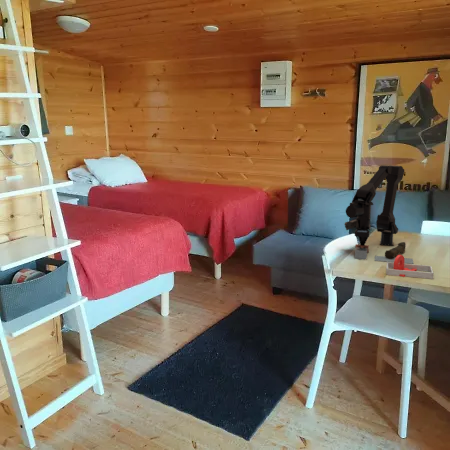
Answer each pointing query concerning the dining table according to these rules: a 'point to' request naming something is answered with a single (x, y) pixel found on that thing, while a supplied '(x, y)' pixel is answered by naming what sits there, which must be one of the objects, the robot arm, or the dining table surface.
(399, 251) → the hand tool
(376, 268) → the dining table surface
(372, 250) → the dining table surface
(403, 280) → the dining table surface
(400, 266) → the bracket
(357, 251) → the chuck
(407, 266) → the parts frame
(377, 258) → the mat
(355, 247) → the key
